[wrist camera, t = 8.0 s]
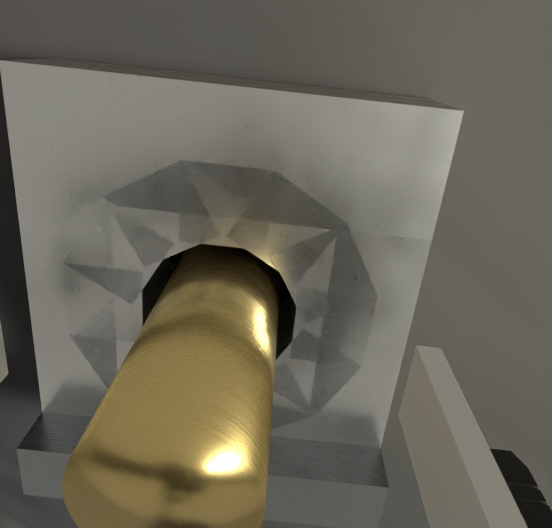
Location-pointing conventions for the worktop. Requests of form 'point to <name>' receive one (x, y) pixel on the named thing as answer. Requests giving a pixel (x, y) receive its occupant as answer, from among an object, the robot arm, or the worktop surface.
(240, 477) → the gold brass cylinder
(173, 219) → the jig
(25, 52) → the worktop surface
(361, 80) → the worktop surface
